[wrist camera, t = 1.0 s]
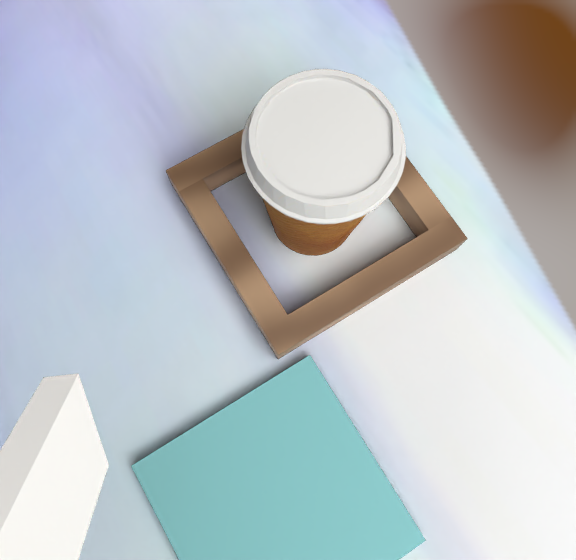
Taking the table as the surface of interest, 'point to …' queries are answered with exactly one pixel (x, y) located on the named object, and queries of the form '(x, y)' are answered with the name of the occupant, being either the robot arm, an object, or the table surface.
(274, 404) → the mat
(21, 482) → the robot arm
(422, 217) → the pocket frame
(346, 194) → the disposable coffee cup
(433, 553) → the table surface
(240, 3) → the table surface
